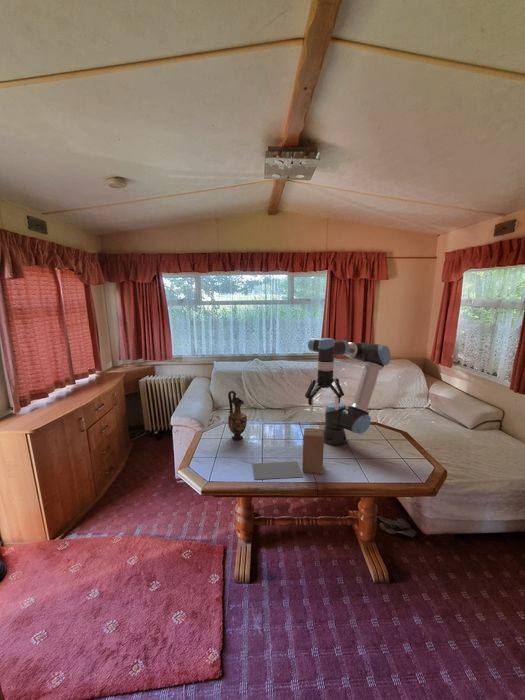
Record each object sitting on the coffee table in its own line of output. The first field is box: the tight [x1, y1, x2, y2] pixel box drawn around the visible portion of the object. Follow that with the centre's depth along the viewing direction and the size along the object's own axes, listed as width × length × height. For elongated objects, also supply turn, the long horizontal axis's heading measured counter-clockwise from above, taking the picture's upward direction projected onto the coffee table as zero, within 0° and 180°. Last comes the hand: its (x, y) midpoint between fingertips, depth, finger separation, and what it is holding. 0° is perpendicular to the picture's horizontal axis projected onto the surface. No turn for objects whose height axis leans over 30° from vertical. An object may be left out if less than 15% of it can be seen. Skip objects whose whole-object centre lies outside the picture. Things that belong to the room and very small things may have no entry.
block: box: [301, 427, 325, 475], centre depth 147 cm, size 10×10×20 cm
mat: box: [251, 460, 304, 481], centre depth 147 cm, size 24×14×1 cm, turn 96°
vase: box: [227, 390, 248, 442], centre depth 180 cm, size 12×12×30 cm
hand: (323, 410), depth 147 cm, fingers open, 13 cm apart
